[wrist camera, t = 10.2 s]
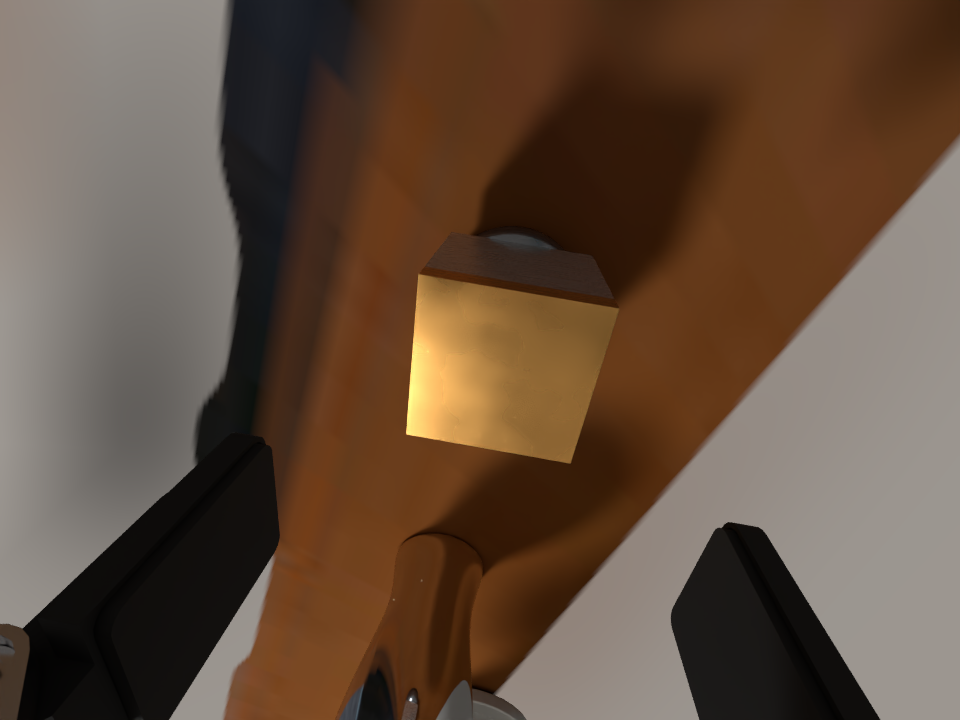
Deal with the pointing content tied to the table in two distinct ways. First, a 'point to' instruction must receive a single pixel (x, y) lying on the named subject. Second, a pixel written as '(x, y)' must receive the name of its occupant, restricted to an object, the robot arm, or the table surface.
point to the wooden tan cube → (507, 346)
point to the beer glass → (421, 638)
